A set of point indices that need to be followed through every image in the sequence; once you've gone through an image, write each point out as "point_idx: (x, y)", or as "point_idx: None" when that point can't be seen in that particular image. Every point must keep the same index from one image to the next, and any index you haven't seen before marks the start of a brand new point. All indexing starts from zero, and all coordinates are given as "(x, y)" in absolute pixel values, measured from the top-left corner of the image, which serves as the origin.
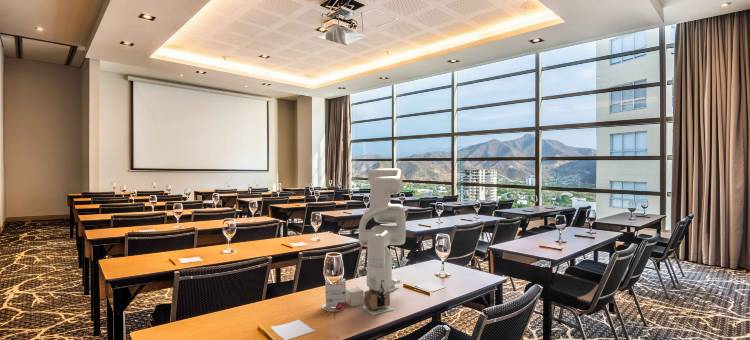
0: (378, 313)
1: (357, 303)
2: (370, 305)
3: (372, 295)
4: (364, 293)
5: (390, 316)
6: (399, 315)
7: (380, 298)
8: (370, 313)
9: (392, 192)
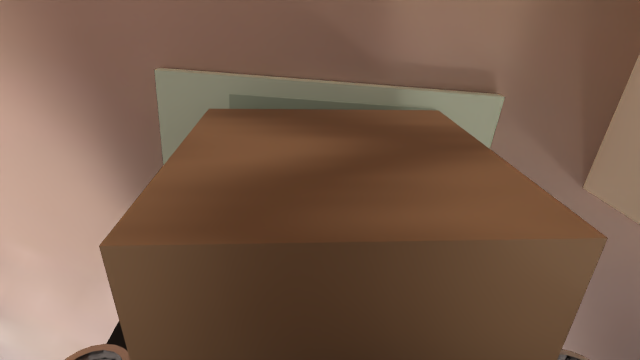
0: (165, 162)
1: (635, 106)
2: (247, 126)
3: (112, 269)
4: (563, 207)
5: (21, 230)
6: (17, 314)
7: (100, 352)
8: (220, 72)
9: None
